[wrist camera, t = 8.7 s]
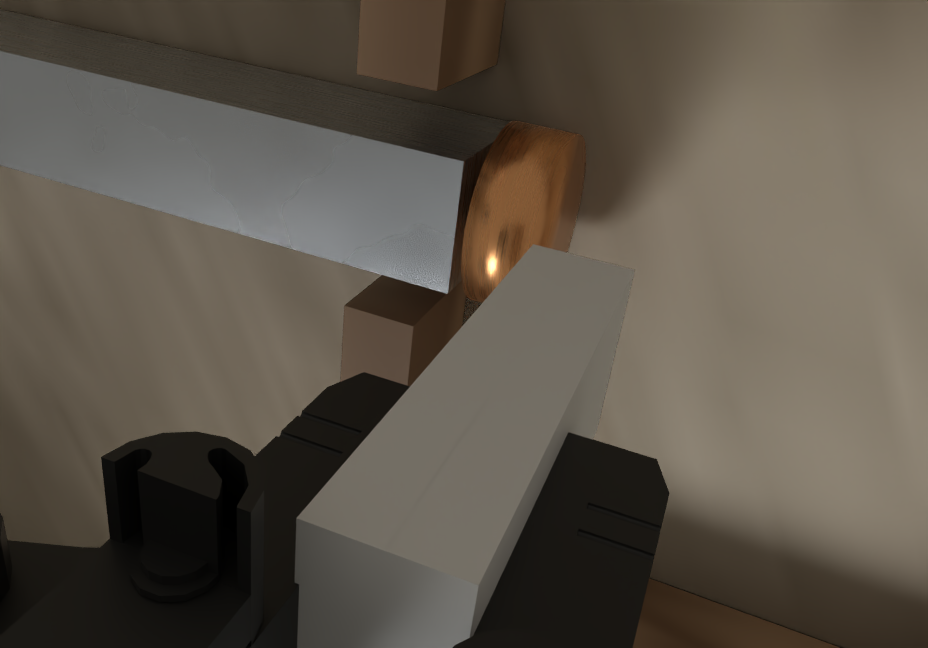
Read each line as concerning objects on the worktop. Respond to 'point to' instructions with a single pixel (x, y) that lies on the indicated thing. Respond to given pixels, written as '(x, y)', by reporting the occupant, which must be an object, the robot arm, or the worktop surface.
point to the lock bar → (287, 156)
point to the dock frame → (441, 315)
